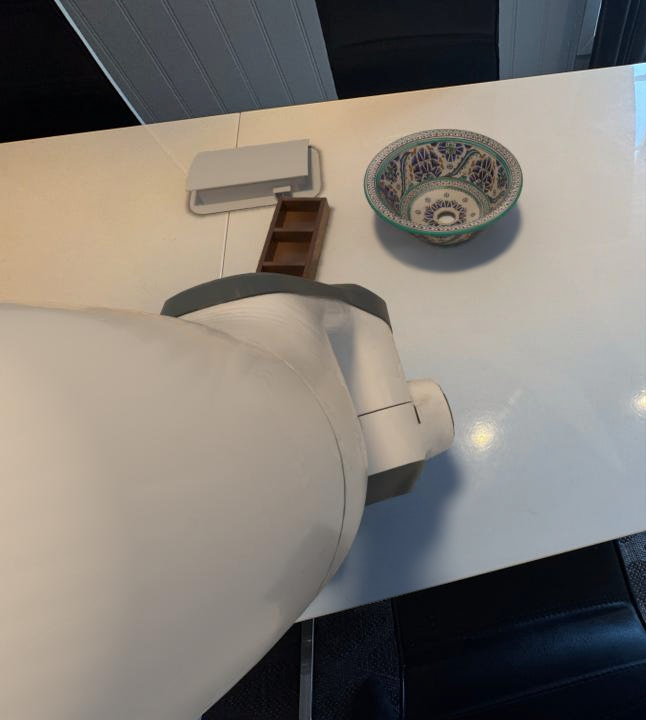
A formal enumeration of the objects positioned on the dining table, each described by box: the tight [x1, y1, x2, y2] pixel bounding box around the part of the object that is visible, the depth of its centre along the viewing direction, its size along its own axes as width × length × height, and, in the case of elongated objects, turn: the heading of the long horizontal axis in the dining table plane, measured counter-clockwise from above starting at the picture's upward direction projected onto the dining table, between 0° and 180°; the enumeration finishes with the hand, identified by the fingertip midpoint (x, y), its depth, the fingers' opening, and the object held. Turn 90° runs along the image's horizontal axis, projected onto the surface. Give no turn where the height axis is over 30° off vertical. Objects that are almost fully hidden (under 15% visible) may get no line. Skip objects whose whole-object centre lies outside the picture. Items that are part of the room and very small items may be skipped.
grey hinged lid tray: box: [184, 138, 322, 215], centre depth 92 cm, size 15×23×4 cm, turn 102°
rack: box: [254, 196, 331, 281], centre depth 78 cm, size 8×38×3 cm, turn 0°
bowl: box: [363, 128, 524, 246], centre depth 83 cm, size 25×25×10 cm
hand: (136, 508), depth 47 cm, fingers open, 8 cm apart
